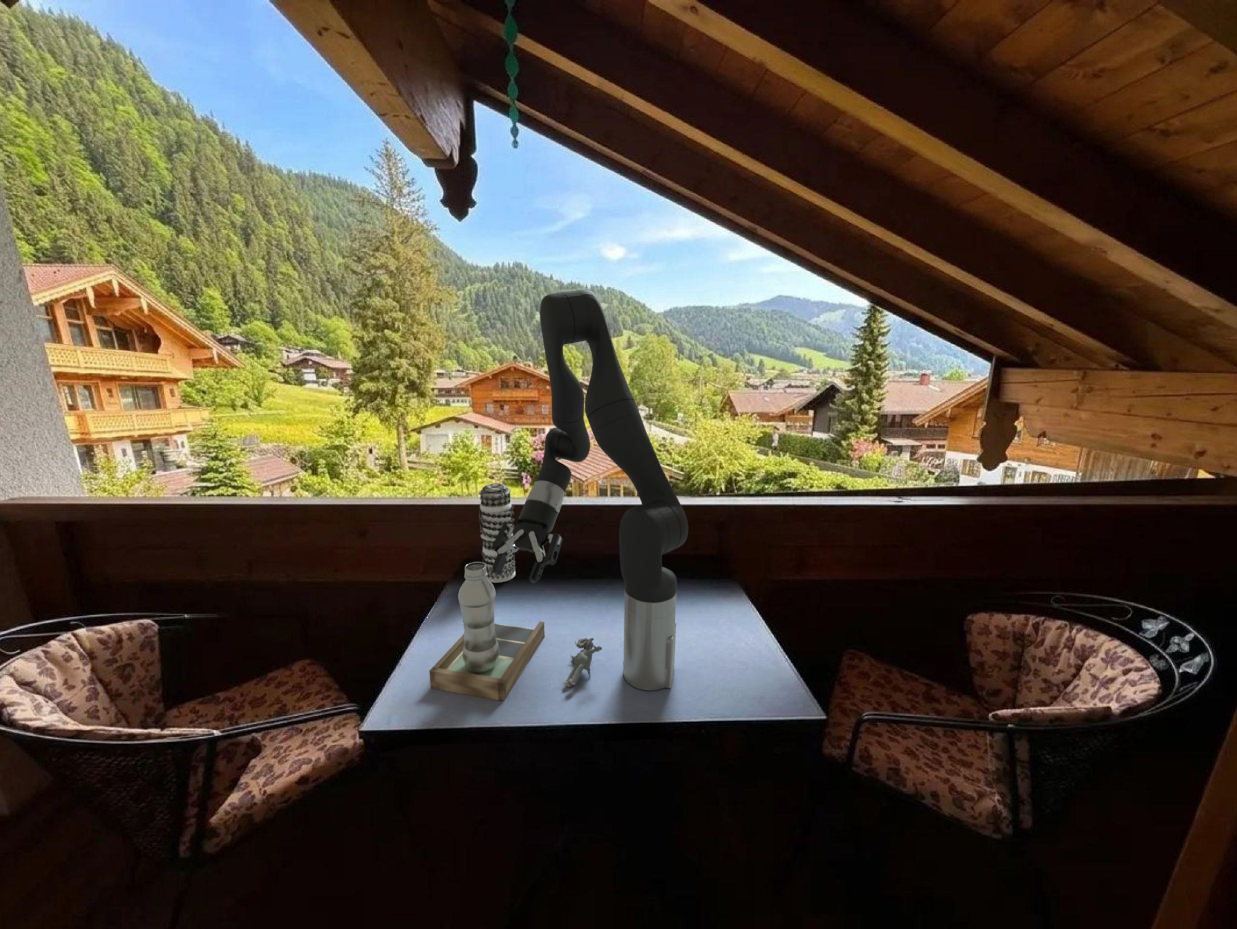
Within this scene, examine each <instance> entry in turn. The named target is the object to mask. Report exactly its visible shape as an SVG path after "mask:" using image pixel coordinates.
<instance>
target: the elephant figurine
mask: <svg viewBox="0 0 1237 929" xmlns="http://www.w3.org/2000/svg"><path fill="white" fill-rule="evenodd" d="M594 640H595V638H593V637H591V638H587V637H585V638H580V639H577V641H576V640H574V644H575V646H576V647H577V648H578V649H581V650H580V652H578V653H577V654H576V655H575V656H574V655H570V659H571V660H572V661H573V662H574V667H573V669H572V670H571V672H570V674H569V676H568V678H567V679H566V681H564V682H563V684H564V685H565V686H566V687H568V688H572V685H573V686H576V685H577V683H578V681H579V678H580V676H581V674H582V672H583V670H584V671H586V672H587V673H588V676H589V677H588V678H591V669H590V668H591V665H592V660H593V655H594V653H596V652H597V653H598V652H600V651H602V650H603V647H602V646H601V645H598V646H596V645H594V642H593V641H594Z"/></svg>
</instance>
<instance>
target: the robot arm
mask: <svg viewBox="0 0 1237 929" xmlns="http://www.w3.org/2000/svg"><path fill="white" fill-rule="evenodd" d="M539 319H540V321H539V322H540V328H541V335H542V343H543V349H544V354H545V360H546V368H547V372H548V376H549V377H548V378H549V384H550V392H551V394H550V395H551V420H552V424H553V425H554V426H555V427H553V428H551V429H550V430H549V431H548V432H547V434H546V436H545V438H544V448H543V449H544V450H543V457H542V462H541V466H540V469H539V473H538V474H537V477H536V478H535V481H534V484H533V486H532V487H531V488H530V491H529V493H528V495H527V497H526V500H525V503H524V504H523V507H522V509H521V511H520V514H519V516H518V520H517V521H518V522H517V524H516V526H514V528H513V527H509V526H508V525H507V524H503V525H502V527H501V529H500V531H499V533H498V535H497V537H496V539H495V541H494V543H493V545H492V549H493V550H494V551H495V552H497V557H496V559H495V562H494V564H493V566H492V569H493V572H494V573H495V574H496V575H500V574H501V572H502V570H503V567H504V565H505V563H506V560H507V559H506V558H507V557H508V556H509V555H510V554H512V553H513V552H514V553H517V552H518V551H522V552H525V551H528V552H529V553H534V554H535V558H536V561H534V564H533V566H532V569H531V572H530V573H529V577H528V581H529V582H530V583H532V584H536V583H537V582H538V581H540V580H541V577H542V575H543V572H544V569H545V568H546V566H548V565H551V566H554V565H555V564H556V563H557V560H558V558H559V553H560V550H561V548H562V547H561V546H562V543H563V538H562V536H561V535H560V534H558V532H554V533H553V534H552V533H551V532H552V531H553V529H554V526H555V523H556V520H557V519H558V518H557V517H558V515H559V513H560V511H561V509H562V508H561V507H562V505H563V502H564V497H565V494H566V493H567V492H566V491H567V489H568V486H569V484H570V482H571V478H572V471H571V469H570V468H569V467H568V466H567V465H566V464H564V463H562V462H561V461H559V460H557V458H558V459H561V460H565V461H570V462H572V463H582V462H584V461H585V460H586V459H587V458H588V456H589V454H590V452H591V442H590V441H591V440H590V435H589V433H588V430H587V427H586V423H585V422H586V421H585V418H584V416H586V419H587V421H588V424H589V427H590V429H591V432H592V434H593V438H594V439H595V441H596V443H597V444H596V445H598V447H600V448H599V449H601V451H603V453H604V454H605V455H606V456H607V457H608V458H609V459H610V460H611V461H612V462H613V463H614V464H615V465H617V467H618V468H619V469H621V471H623V473H624V474H625V475H626V476H627V477H628V479H629V481H631V483H632V485H633V487H634V488H635V491H636V492H637V494H638V497H639V500H640V502H641V504H640V505H636V506H634V507H632V508H629V509H627V510H626V511H625V512H624V514H622V516H621V520H620V523H619V531H618V532H619V534H618V535H619V536H618V537H619V538H618V540H619V542H618V543H619V561H620V562H619V565H620V573H621V576H622V579H623V582H624V610H623V611H624V613H623V614H624V616H623V617H624V618H623V621H624V622H623V661H622V662H623V664H622V665H623V670H622V671H623V672H622V673H623V677H624V679H625V681H626V682H627V683H628V684H629V685H631V686H633V687H634V688H636V689H639V690H644V691H656V690H661V689H664V688H667V689H671V688H672V684H673V678H674V677H673V676H674V671H675V662H676V661H675V658H676V657H675V656H676V655H675V654H676V637H677V636H676V634H677V622H676V613H677V611H676V610H677V588H678V587H677V586H678V585H677V584H678V582H677V580H678V579H677V576H676V574H675V573H674V572H673V571H672V570H670V569H668V568H667V567H664V566H663V564H662V563H663V562H662V561H663V559H662V556H663V555H665V554H667V553H670V552H672V551H673V550H676V549H678V548H680V547H681V546H683V545H684V544H685V543H686V541H687V539H688V535H689V524H688V519H687V517H686V513H685V510H684V509H683V506H682V504H681V503H680V500H679V498H678V495H676V493H675V491H674V489H673V487H672V485H671V483H670V481H669V478H667V475H666V473H665V471H664V469H663V467H662V465H661V462H660V460H659V458H658V456H657V454H656V451H655V449H654V446H653V444H652V442H651V439H650V437H649V435H648V433H647V432H648V431H647V430H646V426H645V424H644V421H643V419H642V416H641V413H640V410H639V408H638V406H637V403H636V400H635V398H634V395H633V393H632V392H631V389H630V387H629V384H628V382H627V379H626V377H625V374H624V371H623V370H622V367H621V363H620V361H619V359H618V356H617V352H616V349H615V347H614V343H613V340H612V336H611V332H610V331H609V330H610V329H609V327H608V323H607V319H606V316H605V314H604V310H603V307H602V306H601V303H600V300H599V299H598V297H597V295H596V294H595V293H594V292H593V291H591V290H589V289H576V290H571V291H569V290H568V291H561V292H553V293H550V294H549V293H548V294H547V295H545V296H544V297H543V298H542V299H541V302H540V308H539ZM580 342H586V343H587V344H588V346H589V350H590V355H591V359H592V365H591V366H592V368H591V373H590V378H589V381H588V385H587V389H586V394H584V390H583V386H582V384H581V383H580V381H579V379H578V377H577V376H576V375H575V373H574V372H573V371H572V370H571V368H570V367H569V365H568V364H567V361H566V359H565V356H564V345H570V344H575V343H580ZM512 534H513V536H512V538H510V539H509V540H508V538H509V537H511V535H512ZM507 540H508V541H507ZM547 543H549V546H548V549H547V552H545V548H544V546H545V545H546V544H547Z"/></svg>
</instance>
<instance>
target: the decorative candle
mask: <svg viewBox="0 0 1237 929" xmlns="http://www.w3.org/2000/svg"><path fill="white" fill-rule="evenodd" d="M511 492H512V490H511V489H510V488H508V486H507V485H506V484H504V483H497V482H495V483H488V484H486V485H484V486H483V487H482V489H480V490H479V491H478V494H479V495H480V503H479V507H478V508H477V509H476V510H477V511H478V518H477V519H479V521H478V524H479V526H480V528H479V531H480V538H481V539H482V552H481V556H482V559H481V560H482V563H485V564H486V570H487V576H486V578H487V579H488V580H489V581H490V582H491V583H495V584H496V583H503V582H508V581H511V580H512V579H513V578H515V577H516V561H515V559H516V558H515V557H516V555H515V552H513V553H512V554H510V555H509V556H508V557H507V558H506V559H507V560H506V563H505V565H504V567H503V570H502V572H501V574H500V575H496V574H495V573H494V572H493V569H492V566H493V564H494V562H495V559H496V557H497V552H495V551H494V550H493V549H492V545H493V543H494V541H495V539H496V537H497V535H498V533H499V531H500V529H501V527H502V525H503V524H507V525H508V526H509V527H513V528H514V527H515V524H514V522H515V519H514V518H512V517H513V516H514V515H515V511H513V510H515V506H514V505H512V501H511ZM512 537H513V534H512V535H511V537H509V538H508V540H509V539H510V538H512ZM508 540H507V541H508Z"/></svg>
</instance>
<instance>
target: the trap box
mask: <svg viewBox="0 0 1237 929" xmlns="http://www.w3.org/2000/svg"><path fill="white" fill-rule="evenodd" d="M494 626H495V632H496V639H497V642H498V645H499V650H500V654H499V660H498V662H497V664H496V665H495V666H494V668H492V669H491V670H489V671H486V672H482V673H475V672H472V671H470V670H469V669H468V668H467V667H466V666H465V664H464V661H463V646H464V633H463V634H462V635H461V636H460V637H459V639H458V640H457V641H455V643H454V644H453V645H452V646H451V647H450V648H448V650H447V651H446V652H445V653H444V655H443V656H442V657H441V658H440V659H439V660H437V662H436V663H435V664H434V665H433V666H432V667H431V668H430V669H429V670H428V672H429V682H430V688H431V689H435V690H440V691H446V692H452V693H456V694H457V693H458V694H463V695H469V696H474V697H479V698H485V699H491V700H496V701H501V702H505V700H506V699H507V698H508V696H509V694H510V692H511V691H512V689H513V687H514V685H516V682H518V680H519V678H520V677H521V675H522V673H523V671H525V668H526V667H527V665H528V664H529V662H530V661H531V659H532V657H533V656H534V655H535V653H536V652H537V649H538V648H539V646H540V645H541V644H542V642H543V641H544V639H545V636H546V635H545V632H546V631H545V621H539V622H538V623H537V625H536V626H535V628H529V627H522V626H517V625H510V624H509V625H508V624H502V623H495V622H494Z"/></svg>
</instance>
